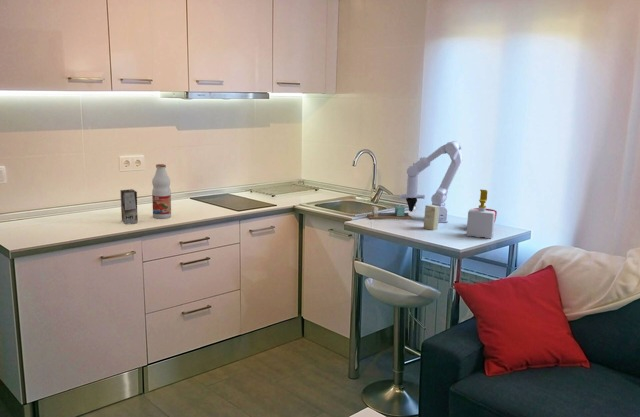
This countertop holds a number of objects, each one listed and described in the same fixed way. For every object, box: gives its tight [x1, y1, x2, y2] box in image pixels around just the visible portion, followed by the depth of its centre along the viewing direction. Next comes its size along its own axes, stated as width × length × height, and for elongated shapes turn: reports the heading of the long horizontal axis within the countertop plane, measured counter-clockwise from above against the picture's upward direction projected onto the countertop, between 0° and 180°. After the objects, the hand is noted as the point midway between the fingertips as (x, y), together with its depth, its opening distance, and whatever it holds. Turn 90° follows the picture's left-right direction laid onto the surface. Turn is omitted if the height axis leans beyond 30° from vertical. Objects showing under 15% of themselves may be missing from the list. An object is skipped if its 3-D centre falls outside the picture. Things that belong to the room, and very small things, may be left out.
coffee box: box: [120, 188, 139, 225], centre depth 295 cm, size 9×6×16 cm
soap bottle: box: [465, 189, 496, 239], centre depth 286 cm, size 12×7×23 cm, turn 66°
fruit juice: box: [151, 163, 172, 220], centre depth 307 cm, size 9×9×28 cm
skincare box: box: [423, 204, 440, 231], centre depth 300 cm, size 6×4×12 cm
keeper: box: [394, 205, 406, 216], centre depth 326 cm, size 5×4×5 cm
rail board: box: [366, 205, 413, 220], centre depth 325 cm, size 9×24×6 cm, turn 100°
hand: (410, 211), depth 328 cm, fingers closed
